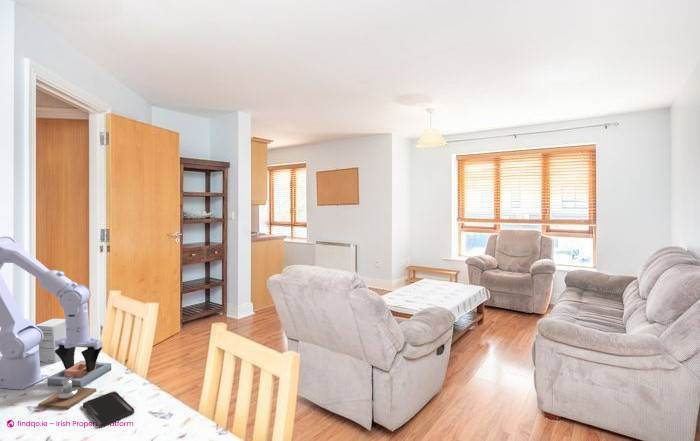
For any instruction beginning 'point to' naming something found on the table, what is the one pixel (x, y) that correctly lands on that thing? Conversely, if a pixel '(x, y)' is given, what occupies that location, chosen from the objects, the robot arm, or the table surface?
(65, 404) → the base
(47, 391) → the table surface
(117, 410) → the phone
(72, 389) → the grey stepped cylinder
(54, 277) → the robot arm
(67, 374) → the ring
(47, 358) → the supplement box
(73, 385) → the tray
